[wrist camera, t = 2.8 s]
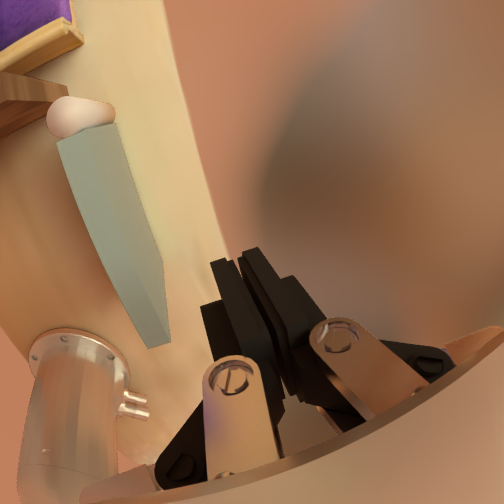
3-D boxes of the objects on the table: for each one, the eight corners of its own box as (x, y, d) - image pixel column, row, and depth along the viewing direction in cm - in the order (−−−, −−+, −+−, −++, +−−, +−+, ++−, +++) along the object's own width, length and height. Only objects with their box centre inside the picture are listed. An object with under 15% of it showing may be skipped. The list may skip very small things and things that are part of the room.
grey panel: (112, 99, 20) (78, 89, 11) (164, 260, 28) (174, 340, 18) (89, 108, 20) (42, 106, 11) (144, 267, 27) (144, 349, 18)
